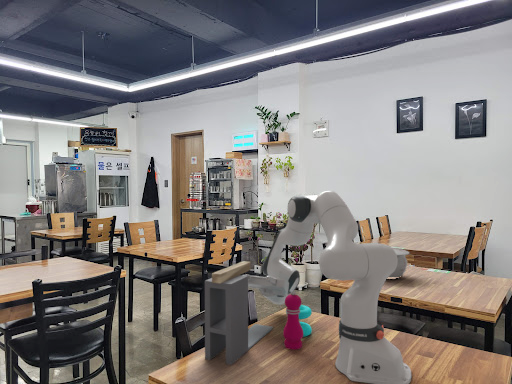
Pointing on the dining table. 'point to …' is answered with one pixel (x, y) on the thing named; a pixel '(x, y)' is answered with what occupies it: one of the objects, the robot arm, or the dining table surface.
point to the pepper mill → (293, 322)
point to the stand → (226, 318)
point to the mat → (257, 333)
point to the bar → (230, 272)
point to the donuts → (304, 314)
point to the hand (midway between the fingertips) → (257, 277)
